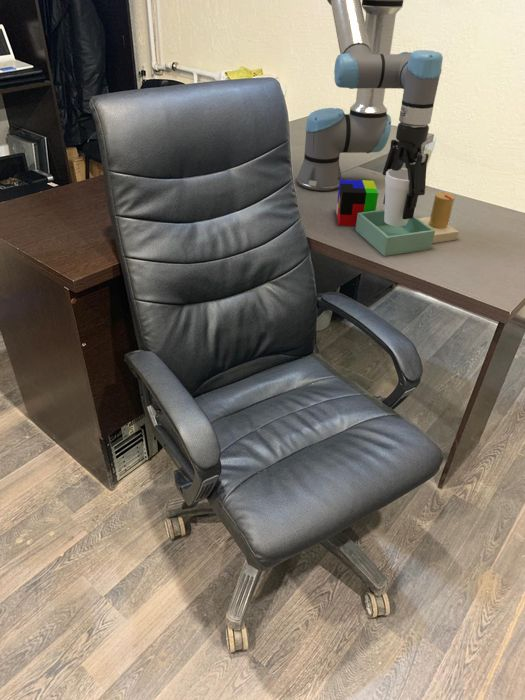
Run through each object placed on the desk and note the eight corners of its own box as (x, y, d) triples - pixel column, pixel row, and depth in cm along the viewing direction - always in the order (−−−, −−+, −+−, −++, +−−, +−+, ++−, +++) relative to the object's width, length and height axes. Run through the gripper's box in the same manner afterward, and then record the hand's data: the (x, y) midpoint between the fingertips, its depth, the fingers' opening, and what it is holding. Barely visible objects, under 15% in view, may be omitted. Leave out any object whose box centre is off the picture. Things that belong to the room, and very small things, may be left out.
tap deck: (410, 227, 154) (412, 218, 152) (439, 223, 157) (441, 214, 155) (432, 243, 146) (434, 234, 144) (461, 238, 148) (463, 230, 147)
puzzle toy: (336, 211, 162) (339, 179, 156) (368, 212, 162) (373, 180, 155) (338, 225, 154) (342, 192, 148) (372, 226, 154) (378, 193, 148)
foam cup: (413, 230, 140) (423, 182, 132) (378, 226, 141) (386, 178, 133) (412, 216, 147) (422, 169, 139) (379, 213, 148) (386, 166, 140)
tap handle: (425, 221, 151) (431, 192, 146) (440, 219, 152) (447, 190, 147) (435, 229, 147) (442, 199, 142) (451, 227, 148) (459, 197, 143)
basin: (355, 230, 151) (357, 212, 148) (399, 224, 155) (402, 207, 152) (384, 256, 139) (387, 237, 136) (431, 248, 143) (435, 230, 140)
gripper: (378, 113, 136) (365, 197, 149) (426, 137, 119) (407, 229, 133) (403, 111, 138) (389, 194, 151) (453, 135, 121) (432, 225, 135)
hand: (397, 210), depth 142 cm, fingers closed on foam cup, 9 cm apart
